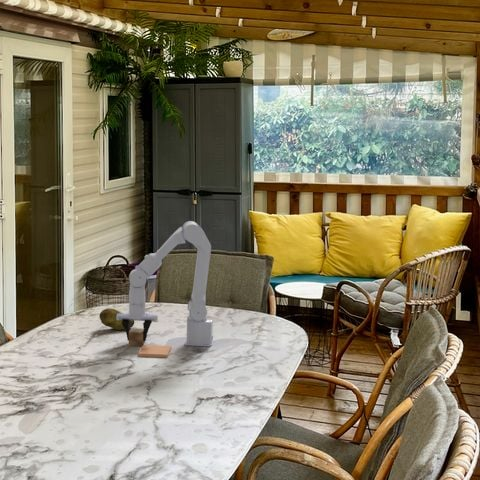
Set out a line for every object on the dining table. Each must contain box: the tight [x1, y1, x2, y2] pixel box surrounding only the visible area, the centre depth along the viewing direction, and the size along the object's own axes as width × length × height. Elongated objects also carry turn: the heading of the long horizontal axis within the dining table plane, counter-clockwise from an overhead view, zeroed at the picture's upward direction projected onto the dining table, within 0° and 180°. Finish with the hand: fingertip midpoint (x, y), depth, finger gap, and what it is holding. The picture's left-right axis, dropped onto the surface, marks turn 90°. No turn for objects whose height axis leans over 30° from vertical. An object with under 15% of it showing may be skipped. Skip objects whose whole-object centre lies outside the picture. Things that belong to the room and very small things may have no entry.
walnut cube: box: [128, 327, 146, 347], centre depth 266 cm, size 5×5×5 cm
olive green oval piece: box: [98, 308, 135, 331], centre depth 284 cm, size 8×13×8 cm, turn 90°
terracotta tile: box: [137, 344, 172, 358], centre depth 258 cm, size 10×10×1 cm
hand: (136, 340), depth 267 cm, fingers closed on walnut cube, 5 cm apart
